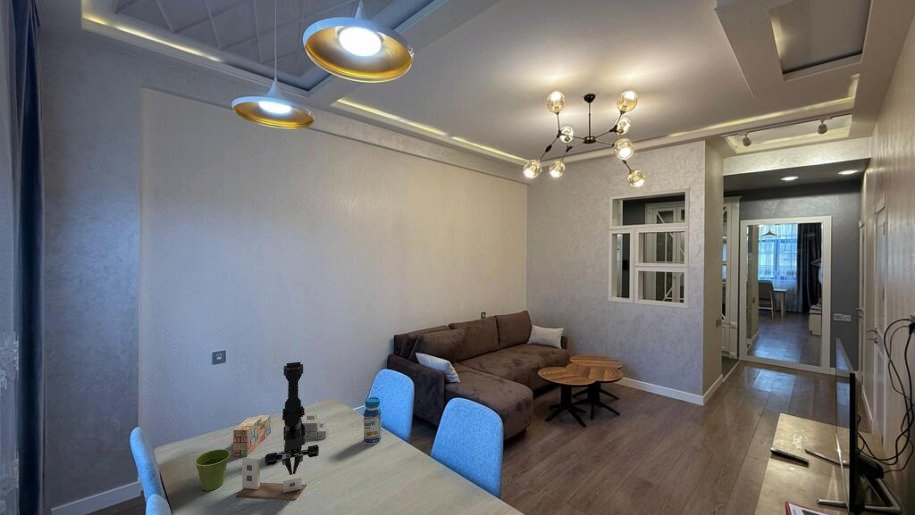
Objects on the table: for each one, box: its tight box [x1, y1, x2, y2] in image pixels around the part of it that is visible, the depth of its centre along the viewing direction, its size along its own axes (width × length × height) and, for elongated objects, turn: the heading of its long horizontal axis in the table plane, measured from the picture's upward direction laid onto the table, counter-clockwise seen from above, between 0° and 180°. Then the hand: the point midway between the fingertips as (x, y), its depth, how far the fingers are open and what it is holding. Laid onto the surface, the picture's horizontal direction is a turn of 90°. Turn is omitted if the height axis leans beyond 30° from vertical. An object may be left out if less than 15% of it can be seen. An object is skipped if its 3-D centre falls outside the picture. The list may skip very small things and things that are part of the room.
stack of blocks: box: [232, 414, 272, 457], centre depth 177 cm, size 21×6×12 cm, turn 0°
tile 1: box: [282, 472, 302, 493], centre depth 139 cm, size 2×6×11 cm
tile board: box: [235, 482, 307, 501], centre depth 143 cm, size 8×23×1 cm, turn 86°
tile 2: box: [241, 457, 261, 489], centre depth 143 cm, size 2×6×11 cm, turn 83°
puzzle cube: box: [302, 412, 329, 440], centre depth 188 cm, size 12×12×8 cm
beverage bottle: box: [363, 396, 383, 445], centre depth 181 cm, size 8×8×20 cm
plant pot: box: [193, 448, 232, 492], centre depth 146 cm, size 12×12×11 cm
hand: (292, 479), depth 139 cm, fingers closed, pressing on tile 1
